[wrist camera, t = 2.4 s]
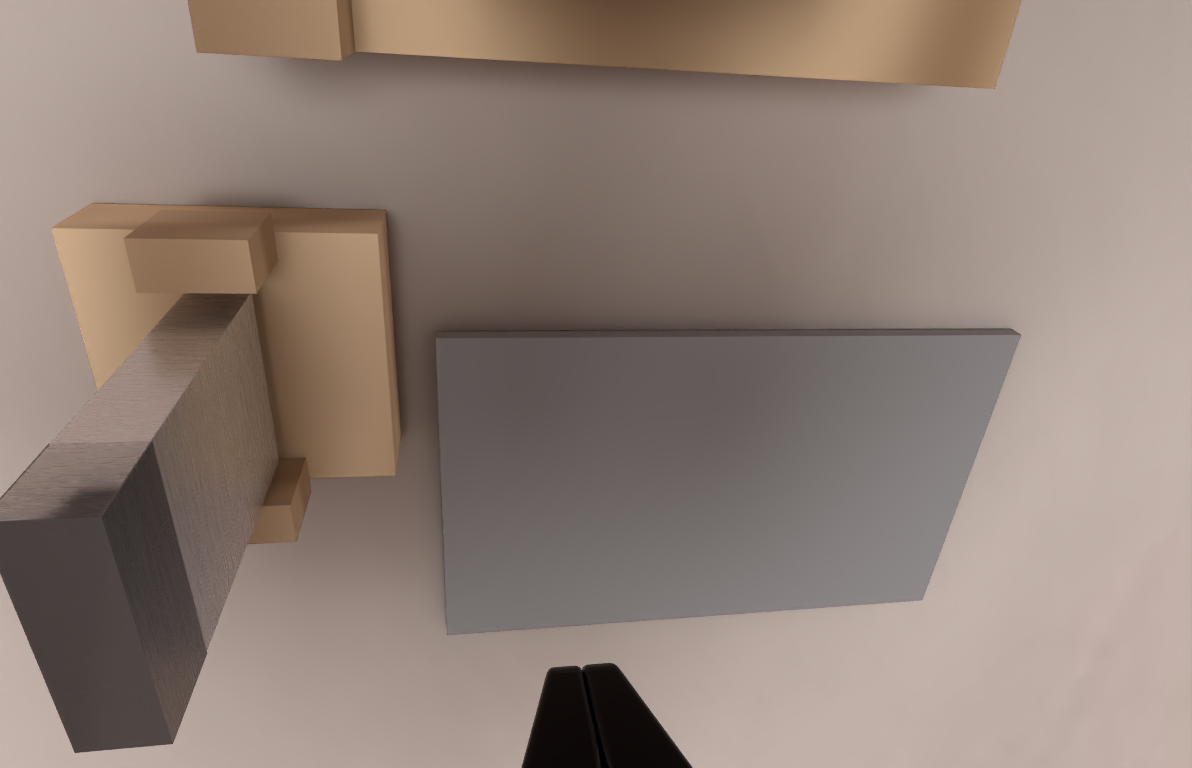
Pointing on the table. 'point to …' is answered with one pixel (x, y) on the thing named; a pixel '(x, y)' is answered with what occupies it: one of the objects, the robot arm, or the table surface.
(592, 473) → the felt pad
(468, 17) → the body
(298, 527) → the lever mount
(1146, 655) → the table surface
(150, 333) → the lever
